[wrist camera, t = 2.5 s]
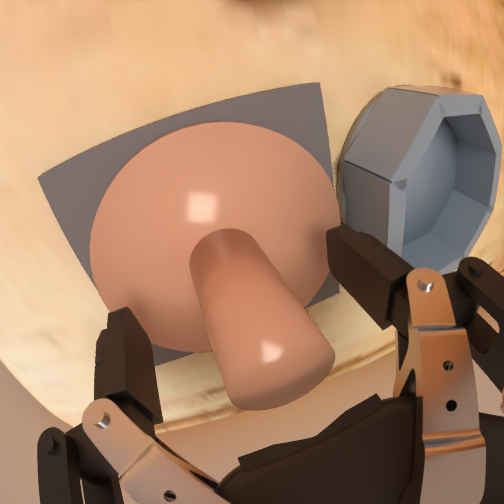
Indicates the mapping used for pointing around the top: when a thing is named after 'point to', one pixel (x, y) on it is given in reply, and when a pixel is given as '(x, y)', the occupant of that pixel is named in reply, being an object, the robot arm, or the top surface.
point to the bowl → (421, 173)
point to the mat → (126, 145)
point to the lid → (223, 254)
